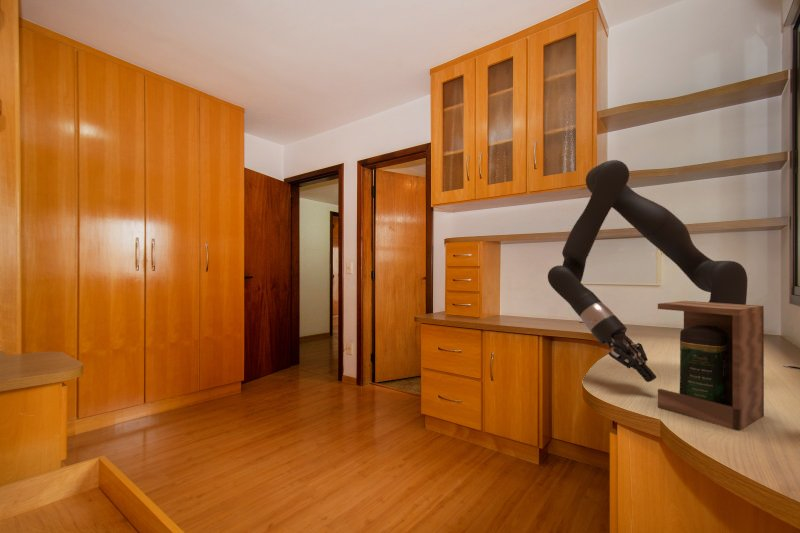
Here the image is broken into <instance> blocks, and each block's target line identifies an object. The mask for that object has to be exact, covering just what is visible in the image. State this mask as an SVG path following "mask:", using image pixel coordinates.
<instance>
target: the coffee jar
mask: <svg viewBox="0 0 800 533" xmlns="http://www.w3.org/2000/svg"><path fill="white" fill-rule="evenodd" d="M679 333H680V334H679V335H680V336H679V356H680V358H679V392H678V393H679V394H684V395H688V396H692V397H696V398H700V399H704V400H708V401H712V402H716V403H720V404H724V405H727V333H726V332H725V331H723V330H721V329H719V328H718V327H716V326H709V325H695V326H692V327H689V328H686V329H684V328H683V329H681V330H680V332H679Z"/></svg>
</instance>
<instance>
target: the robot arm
mask: <svg viewBox="0 0 800 533" xmlns="http://www.w3.org/2000/svg"><path fill="white" fill-rule="evenodd" d="M629 178H630V170H629V168H628V166H627V164H626V163H624V162H623V161H621V160H618V159H612V160H607V161H605V162H602V163H600V164H597V165H596V166H595V167H593V168H591V169H590V170H589V171H588V173H587V174H586V177H585V186H586V188H587V189H588V191H589V192H590V193H591V195H590V198H589V201H588V203H587V205H586V206H585V208H584V209H583V212H582V213H581V214H580V216H579V217H578V219H577V221H576V222H575V223H574V225H573V226H572V228H571V230H570V233H569V234H568V237H567V239H566V241H565V244H564V246H563V248H562V251H561V254H562V257H563V263H562V265H555V266H552V267H551V268H550V269H549V271H548V273H547V282H548V283H549V285H550V286H551V288H552V289H553V290H554V291H555V292H556V293H557V294H558V295H559V296H560V297H561V298H563V300H565V301H566V302H567V303H568V304H569V305H570V307H571V308H572V310H573V311H574V312H575V313H576V315H578V317H579V318H580V320H581V321H582V322H583V324H584V325H585V327H586V328H587V329H588V330H589V331H590V332H591V334H592V335H593V336H594V337H595V338H596V340H597V341H598V342H599V343H600V344H601V345H603V346H605V345H607V346H608V348H609V349H610V351H609V352H608V355H609V357H611V358H612V359H614V360H615V361H617V362H618V363H620V364H622V365H623V366H625V367H626V368H628V369H631V368H632V369H633V370H636V372H637V373H638V374H639V375H640V376H641V378H643V380H644V381H645V382H646V383H650V382H653V381H654V380H655V379H656V378H657V375H656V374H655V373H654V371H652V370H651V368H650V367H649V366H648V365H647V361H648V357H647V353H646V352H645V349H644V347H643V344H641V343H640V342H638V343H634V342H633V340H632V339H631V338H629V337H628V336H627V335H626V332H627V330H628V329H627V327H626V325H625V324H624V323H623V322H622V321H621V320H620V319H619V317H617V315H615V314H614V312H613V311H612V310H611V309H610V308H609V307H608V306H607V305H606V304H605V303H604V302H602V300H600V298H599V297H598V296H597V295H596V294H595V293H594V292H593V291H592V290H590V289H589V288H587V287H586V286H584V285H583V283H582V280H583V277H584V274H585V273H584V272H585V268H586V262H587V259H588V257H589V254H590V252H591V250H592V248H593V245H594V243H595V241H596V239H597V236H598V234H599V232H600V230H601V228H602V226H603V223H604V222H605V220H606V218H607V216H608V214H609V213H610V211H611V210H612V209H613V210H615V211H616V212H617V213H618V214H619V215H620V216H621V217H623V219H624V220H626V221H627V222H628V223H629V224H630V225H631V226H632V227H633V228H634V229H636V231H638V233H639V234H641V236H643V237H644V238H645V239H646V240H647V241H648V242H649V243H651V244H652V245H653V246H655V247H656V249H657V250H659V251H660V252H661V253H663V255H665V257H667V258H668V259H669V260H671V261H672V262H673V263H674V264H675V265H676V266H677V267H678V268H679V269H680V270H681V271H682V272H683V273H684V274H685V275H686V277H687V278H688V279H689V280H690V281H691V282H692V283H693V285H695V286H696V287H697V288H698V289H700V290H702V291H704V292H706V293H710V295H709V300H708V302H712V303H727V304H743V305H747V299H748V298H747V296H748V275H747V271H746V269H745V267H744V266H743V265H742V264H741V263H739V262H737V261H732V260H713V259H711V258H710V257H708V256H707V255H705V254H704V253H703V252H702V251H700V250H699V249H698V248H697V247H696V245H695V244H694V243H693V240H692V238H691V235H690V232H689V230H688V228H687V227H686V226H687V225H685V223H684V222H683V221H681V219H679V218H678V217H677V215H675V213H673V212H671V211H670V210H669V209H668V208H666V207H665V206H663V205H661V204H659V203H657V202H655V201H653V200H651V199H649V198H646V197H645V196H642V195H641V194H639V193H637V192H635V191H634V190H633V189H632V188H631V187H629V186H628V182H629V180H630V179H629Z"/></svg>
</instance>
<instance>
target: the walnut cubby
mask: <svg viewBox="0 0 800 533" xmlns="http://www.w3.org/2000/svg"><path fill="white" fill-rule="evenodd" d="M657 309H658V310H665V311H677V312H683V329H686V328H689V327H692V326H695V325H709V326H716V327H718V328H719V329H721V330H723V331H725V332H726V333H727V405H724V404H720V403H716V402H712V401H708V400H704V399H700V398H696V397H692V396H688V395H684V394H679V393H680V392H674V391H671V390H667V389H663V388H658V389H657V408H658V409H659V408H660V409H663V410H666V411H670V412H673V413H676V414H679V415H682V416H686V417H691V418H694V419H696V420H697V419H698V420H700V421H705V422H708V423H711V424H715V425H718V426H722V427H725V426H726V427H725V428H728V427H729V429H732V430H736V431H741V430H744V429H745V428H746V427H748V426H750V425H751V424H753V423H755V422H756V421H757V420H759V419H761V418H762V417H764V416H765V409H764V408H765V405H764V404H765V394H764V393H765V386H764V385H765V384H764V383H765V381H764V380H765V379H764V378H765V376H764V374H765V373H764V372H765V371H764V370H765V369H764V368H765V365H764V364H765V363H764V361H765V360H764V359H765V358H764V356H765V353H764V352H765V350H764V349H765V348H764V347H765V346H764V343H765V341H764V340H765V338H764V337H765V335H764V334H765V329H764V328H765V327H764V326H765V325H764V322H765V321H764V320H765V317H764V314H765V313H764V312H765V309H764V305H756V304H755V305H754V304H746V305H743V304H727V303H712V302H709V301H708V302H707V301H696V300H695V301H694V300H693V301H692V300H682V301H681V300H680V301H679V300H678V301H672V302H660V303H657Z"/></svg>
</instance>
